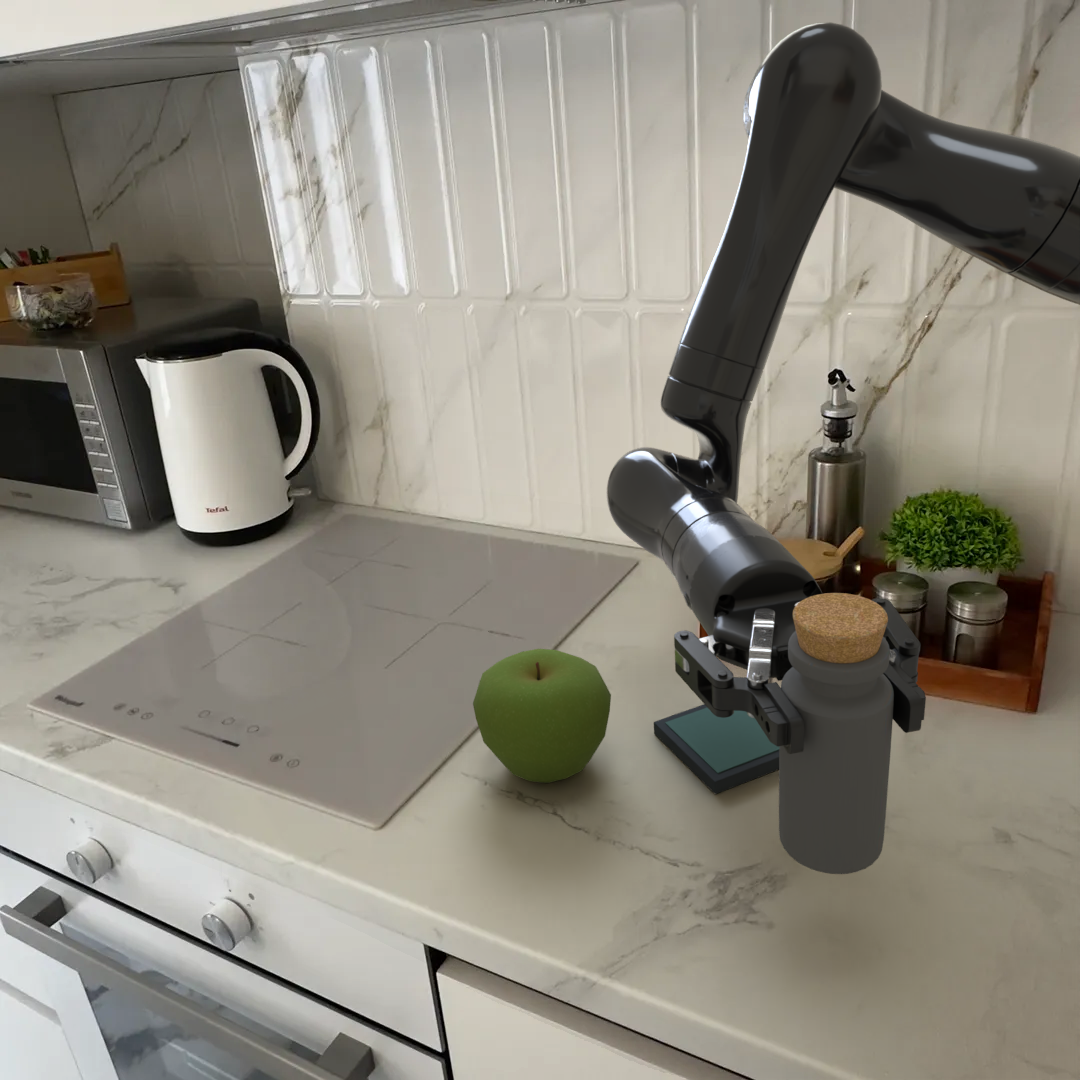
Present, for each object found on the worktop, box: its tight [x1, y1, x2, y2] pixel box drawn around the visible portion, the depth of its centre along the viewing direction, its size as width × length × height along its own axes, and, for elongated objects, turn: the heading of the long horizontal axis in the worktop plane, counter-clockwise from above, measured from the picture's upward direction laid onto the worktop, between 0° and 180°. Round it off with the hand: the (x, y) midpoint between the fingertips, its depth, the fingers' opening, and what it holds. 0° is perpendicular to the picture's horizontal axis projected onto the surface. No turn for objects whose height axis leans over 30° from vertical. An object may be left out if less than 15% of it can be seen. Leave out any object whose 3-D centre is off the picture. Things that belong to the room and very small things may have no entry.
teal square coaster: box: [653, 703, 780, 795], centre depth 79 cm, size 9×9×1 cm
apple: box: [472, 648, 612, 784], centre depth 76 cm, size 11×10×10 cm
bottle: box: [778, 592, 894, 875], centre depth 53 cm, size 6×6×15 cm
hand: (857, 727), depth 50 cm, fingers closed on bottle, 6 cm apart
